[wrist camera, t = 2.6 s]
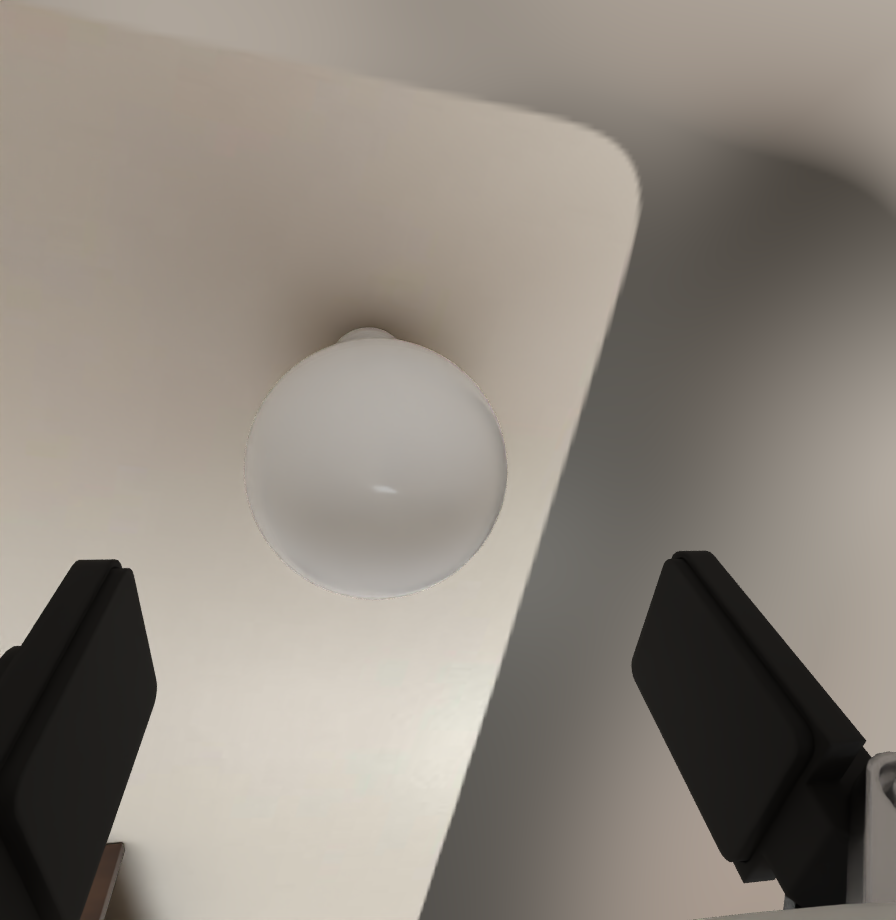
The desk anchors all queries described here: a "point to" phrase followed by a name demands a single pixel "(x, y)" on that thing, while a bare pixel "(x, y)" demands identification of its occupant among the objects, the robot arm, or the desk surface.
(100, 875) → the brown wooden stand
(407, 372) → the lightbulb
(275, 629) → the desk surface
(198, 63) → the desk surface
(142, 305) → the desk surface
